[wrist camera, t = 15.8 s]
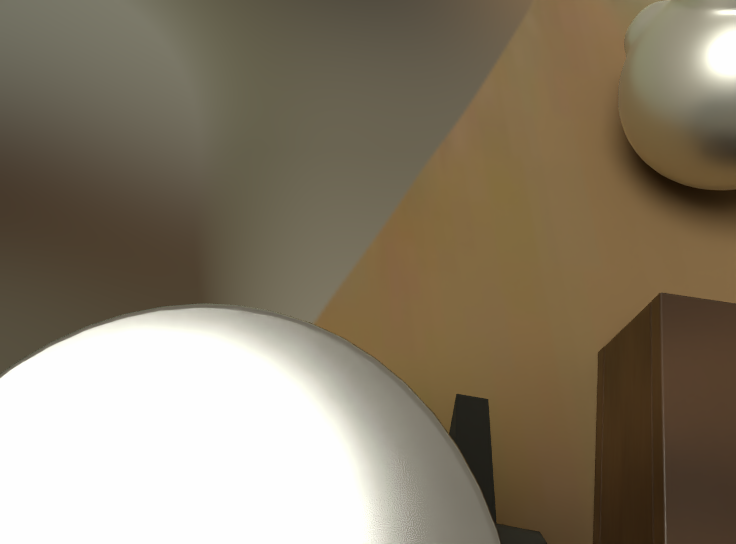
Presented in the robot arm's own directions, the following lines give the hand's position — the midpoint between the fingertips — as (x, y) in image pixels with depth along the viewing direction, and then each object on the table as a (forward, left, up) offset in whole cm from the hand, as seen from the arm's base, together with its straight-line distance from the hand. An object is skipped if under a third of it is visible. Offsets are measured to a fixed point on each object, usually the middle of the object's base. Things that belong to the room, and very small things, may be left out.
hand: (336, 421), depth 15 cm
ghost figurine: (+3, -22, -10) cm, 25 cm away
